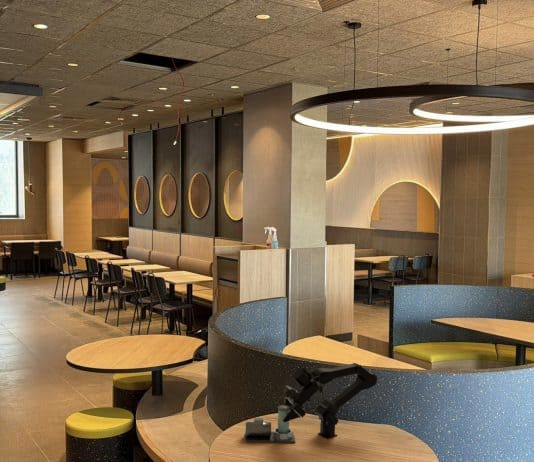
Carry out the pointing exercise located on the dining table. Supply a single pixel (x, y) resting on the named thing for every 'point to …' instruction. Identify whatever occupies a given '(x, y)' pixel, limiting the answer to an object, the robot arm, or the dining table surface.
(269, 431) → the grey socket base
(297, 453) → the dining table surface
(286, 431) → the green capped cylinder
